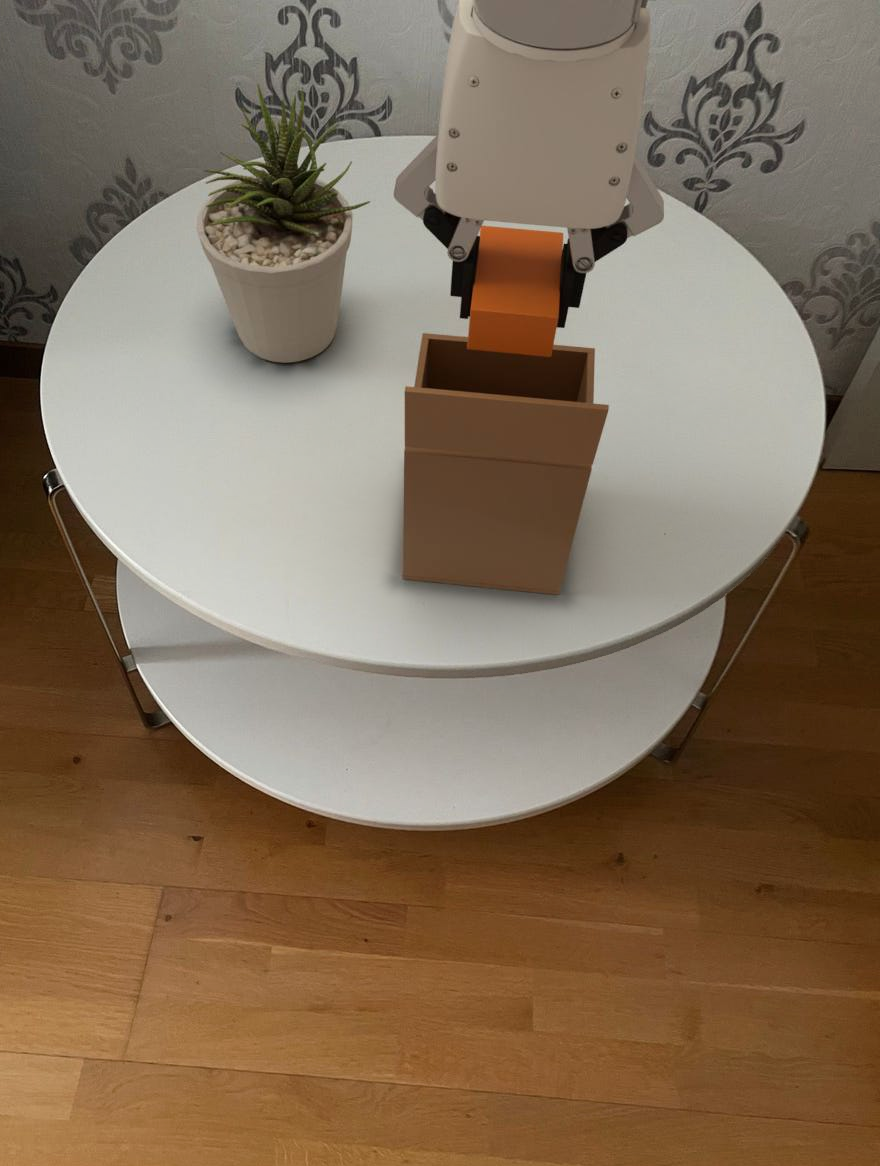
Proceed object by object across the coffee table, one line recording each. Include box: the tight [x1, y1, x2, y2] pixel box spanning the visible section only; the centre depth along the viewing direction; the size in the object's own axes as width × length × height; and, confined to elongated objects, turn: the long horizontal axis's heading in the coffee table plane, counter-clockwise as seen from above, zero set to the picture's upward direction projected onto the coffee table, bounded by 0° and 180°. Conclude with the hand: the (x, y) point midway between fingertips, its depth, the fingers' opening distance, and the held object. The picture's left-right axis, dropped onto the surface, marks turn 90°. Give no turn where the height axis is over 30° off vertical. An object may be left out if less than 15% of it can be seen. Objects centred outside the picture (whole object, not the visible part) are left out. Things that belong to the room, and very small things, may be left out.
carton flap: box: [404, 385, 610, 466], centre depth 60 cm, size 12×5×1 cm
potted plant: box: [196, 82, 371, 364], centre depth 81 cm, size 13×14×20 cm
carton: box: [402, 332, 596, 596], centre depth 72 cm, size 12×11×14 cm
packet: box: [467, 225, 564, 357], centre depth 59 cm, size 8×5×3 cm, turn 173°
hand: (513, 305), depth 60 cm, fingers closed on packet, 5 cm apart
